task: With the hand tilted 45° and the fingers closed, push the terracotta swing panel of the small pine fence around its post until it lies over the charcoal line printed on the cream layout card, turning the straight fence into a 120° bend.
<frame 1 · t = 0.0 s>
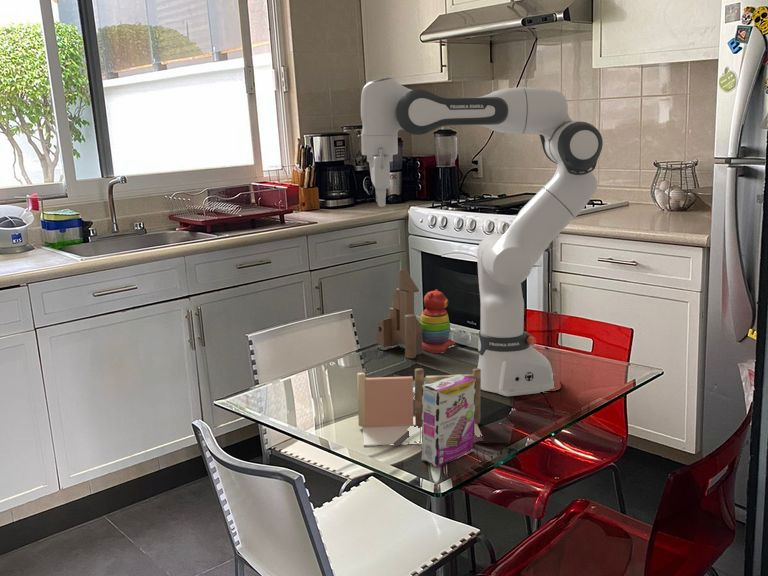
hand: (380, 204, 190), 48 cm above the table, tool pointing down, fingers open, 8 cm apart
candy bar box: (448, 457, 159), on the table
swing panel: (385, 398, 173), point 7 cm above the table, hinge at 0.0°
stacking bear: (435, 348, 235), on the table
wooden toy: (400, 352, 232), on the table
layout card: (420, 430, 173), on the table
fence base: (419, 426, 175), resting on layout card
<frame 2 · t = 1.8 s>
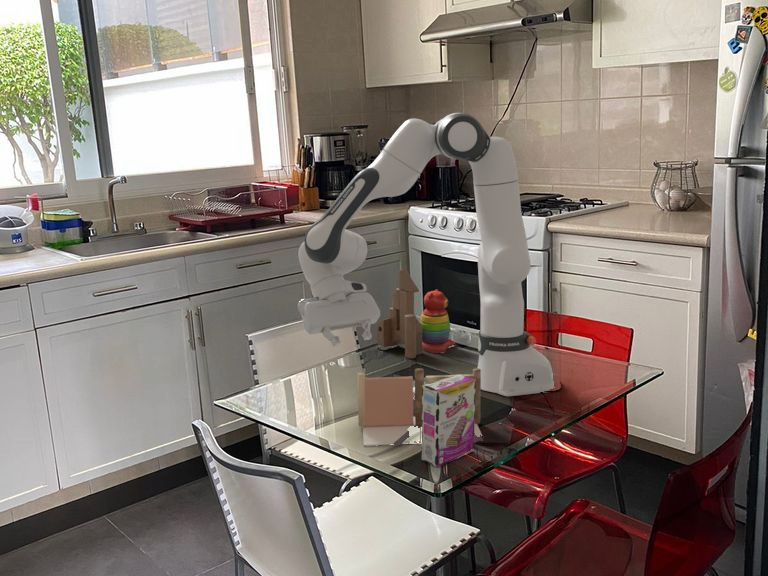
hand: (352, 341, 187), 16 cm above the table, tool tilted 45°, fingers open, 8 cm apart
nothing on the table moved.
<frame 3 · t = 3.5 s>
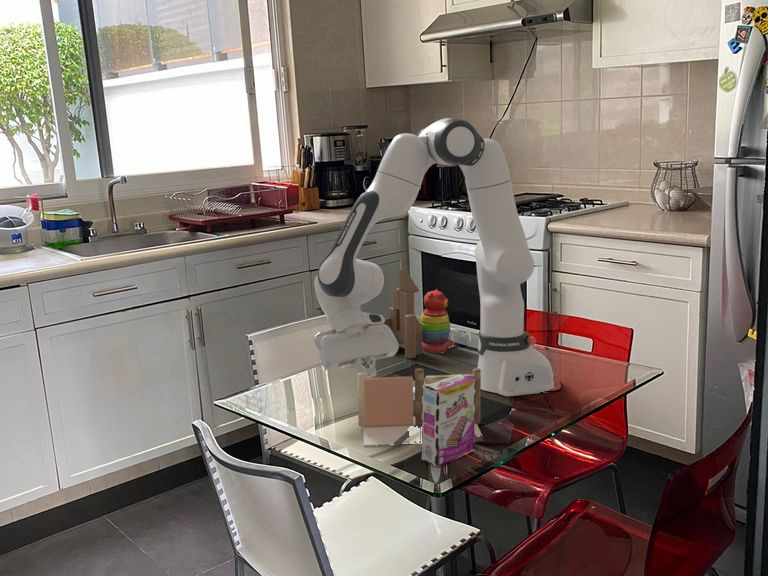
hand: (370, 376, 182), 9 cm above the table, tool tilted 45°, fingers closed
nothing on the table moved.
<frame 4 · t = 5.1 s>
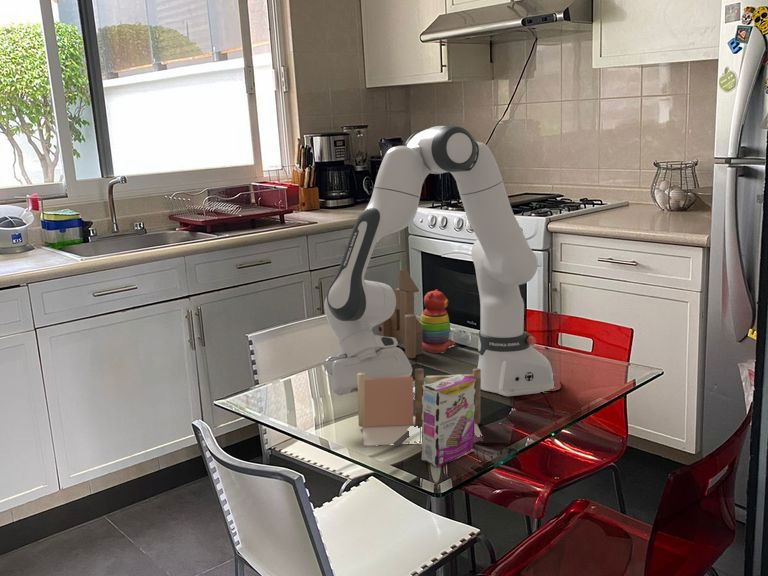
hand: (384, 402, 175), 5 cm above the table, tool tilted 45°, fingers closed
swing panel: (385, 398, 173), point 7 cm above the table, hinge at 0.6°, touching gripper
everything else where it was.
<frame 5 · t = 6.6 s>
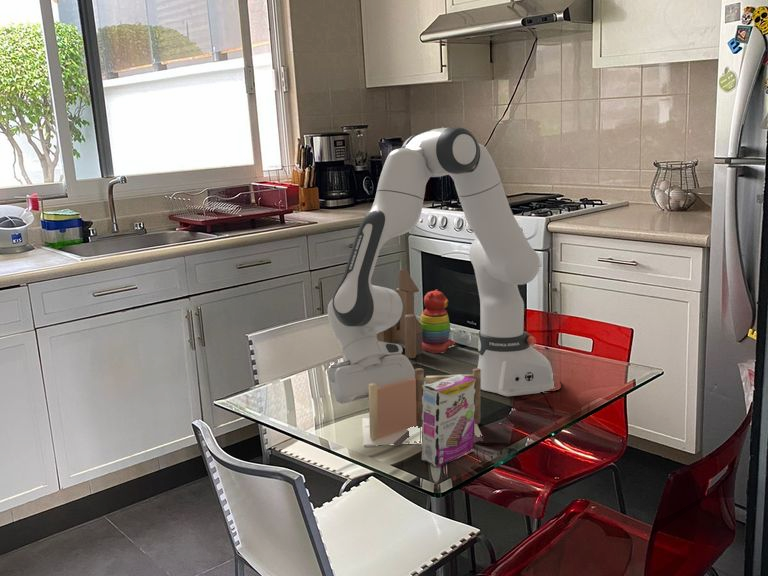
hand: (387, 411, 170), 5 cm above the table, tool tilted 45°, fingers closed
swing panel: (392, 405, 169), point 7 cm above the table, hinge at 34.7°, touching gripper
everything else where it was.
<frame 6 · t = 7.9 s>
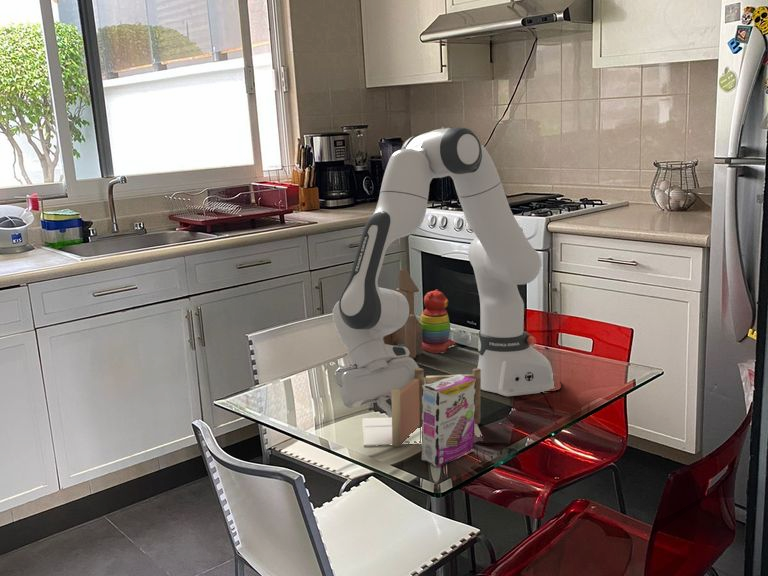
hand: (396, 415, 167), 5 cm above the table, tool tilted 45°, fingers closed
swing panel: (406, 409, 167), point 7 cm above the table, hinge at 62.1°
everything else where it was.
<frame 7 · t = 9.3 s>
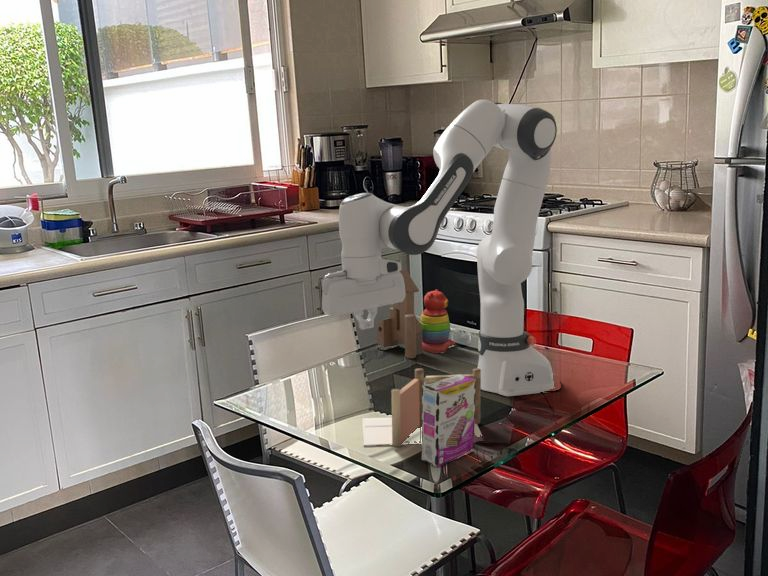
hand: (366, 328, 173), 23 cm above the table, tool pointing down, fingers closed
nothing on the table moved.
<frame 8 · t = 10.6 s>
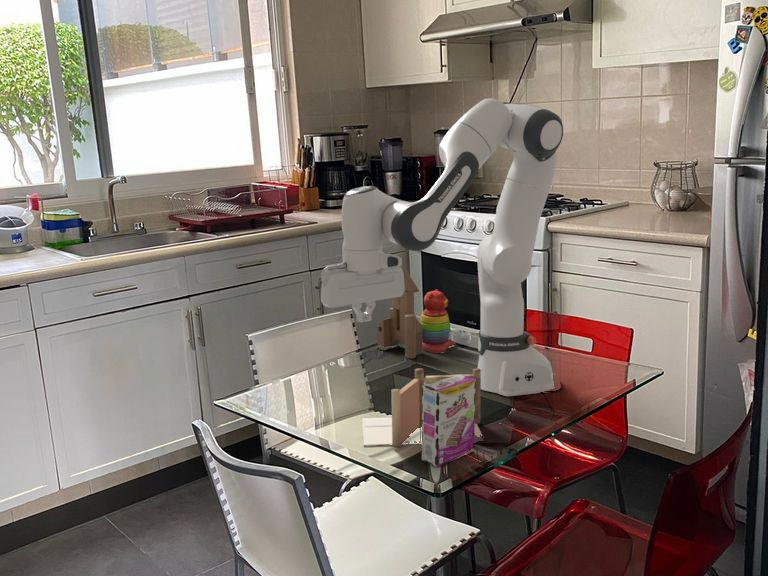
hand: (364, 321, 173), 24 cm above the table, tool pointing down, fingers closed
nothing on the table moved.
at the end: swing panel at +62° (first picture: +0°); swing panel touching nothing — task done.
